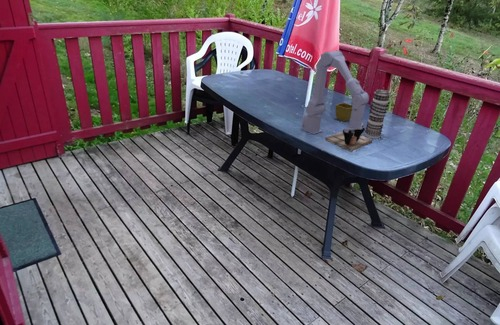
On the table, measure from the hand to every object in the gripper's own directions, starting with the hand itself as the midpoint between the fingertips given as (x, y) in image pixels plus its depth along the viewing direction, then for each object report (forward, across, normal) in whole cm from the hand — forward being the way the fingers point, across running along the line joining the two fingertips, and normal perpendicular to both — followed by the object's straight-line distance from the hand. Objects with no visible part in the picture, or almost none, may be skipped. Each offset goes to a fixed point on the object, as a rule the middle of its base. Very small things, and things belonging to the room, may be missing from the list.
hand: (351, 142), depth 180 cm
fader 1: (0, +10, +8) cm, 13 cm away
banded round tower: (+2, +24, +2) cm, 24 cm away
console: (+2, +5, +4) cm, 7 cm away
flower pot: (+2, +30, +26) cm, 40 cm away
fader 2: (0, 0, 0) cm, 0 cm away
